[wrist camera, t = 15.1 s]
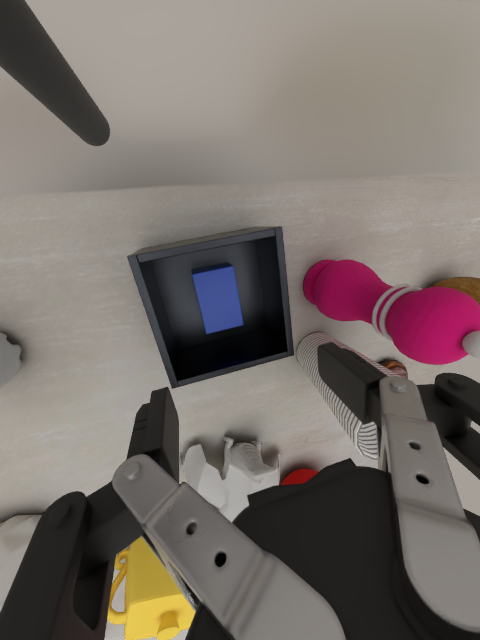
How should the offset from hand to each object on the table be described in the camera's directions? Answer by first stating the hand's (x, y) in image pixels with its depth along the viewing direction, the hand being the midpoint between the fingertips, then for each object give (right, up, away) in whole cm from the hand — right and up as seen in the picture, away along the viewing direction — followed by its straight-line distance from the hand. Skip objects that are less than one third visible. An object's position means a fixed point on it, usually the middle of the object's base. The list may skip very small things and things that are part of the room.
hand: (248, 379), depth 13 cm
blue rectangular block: (-3, +6, +17) cm, 18 cm away
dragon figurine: (-2, -20, +28) cm, 35 cm away
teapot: (-12, -36, +32) cm, 50 cm away
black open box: (-4, +6, +18) cm, 19 cm away
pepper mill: (+11, +8, +21) cm, 25 cm away
